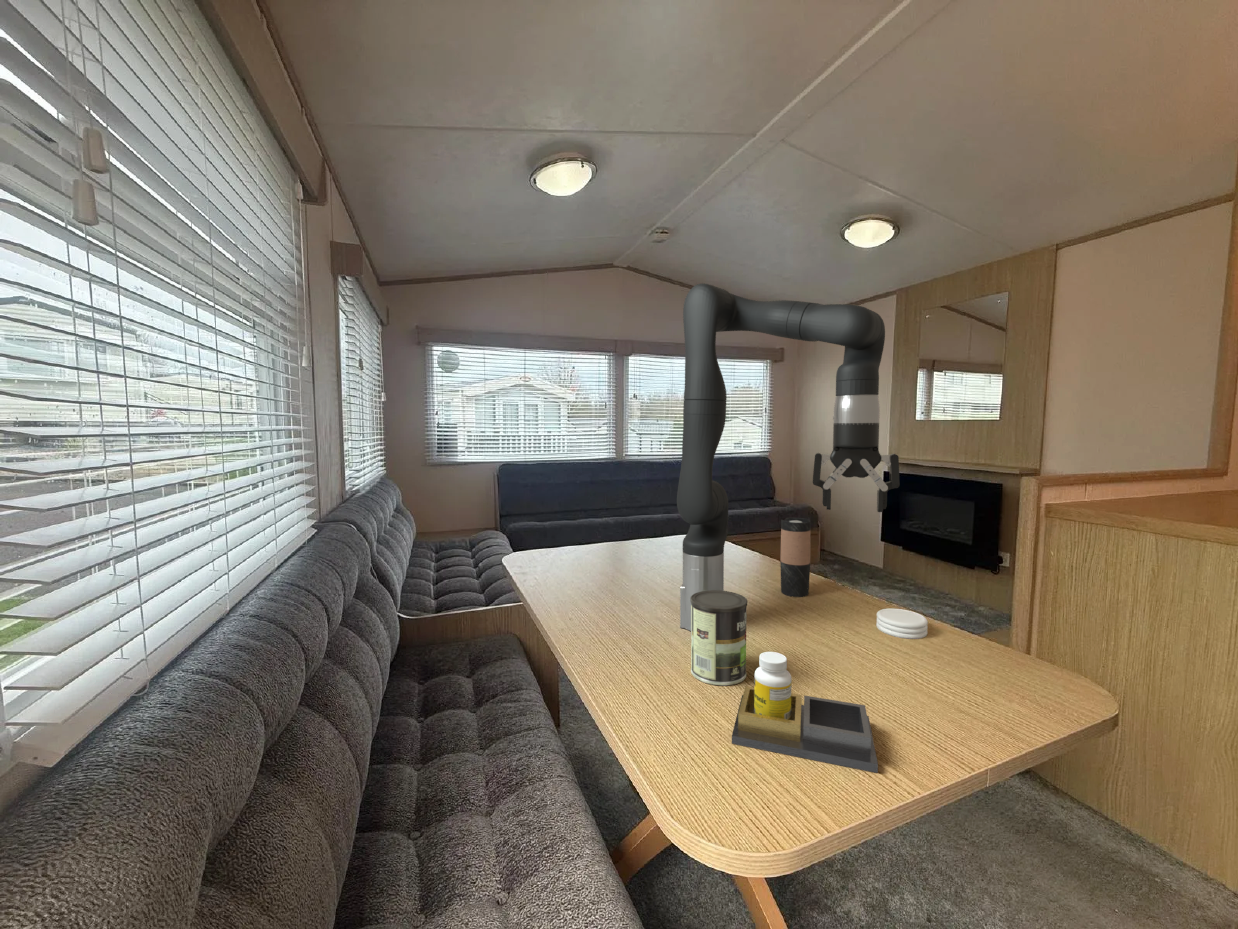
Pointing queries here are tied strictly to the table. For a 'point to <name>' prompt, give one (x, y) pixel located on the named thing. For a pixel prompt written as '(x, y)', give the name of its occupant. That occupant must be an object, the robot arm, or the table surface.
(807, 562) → the travel mug
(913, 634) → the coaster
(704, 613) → the coffee can
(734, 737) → the two compartment tray
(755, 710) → the supplement bottle
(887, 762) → the table surface
